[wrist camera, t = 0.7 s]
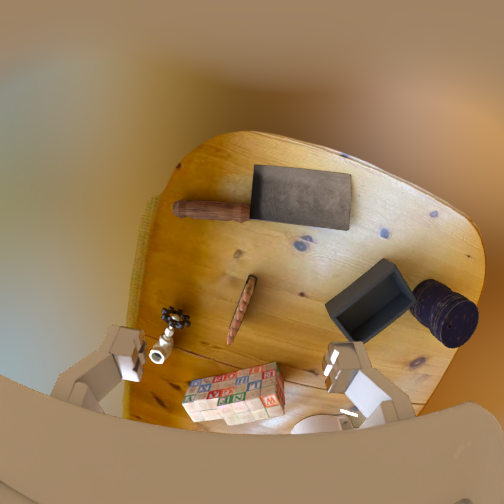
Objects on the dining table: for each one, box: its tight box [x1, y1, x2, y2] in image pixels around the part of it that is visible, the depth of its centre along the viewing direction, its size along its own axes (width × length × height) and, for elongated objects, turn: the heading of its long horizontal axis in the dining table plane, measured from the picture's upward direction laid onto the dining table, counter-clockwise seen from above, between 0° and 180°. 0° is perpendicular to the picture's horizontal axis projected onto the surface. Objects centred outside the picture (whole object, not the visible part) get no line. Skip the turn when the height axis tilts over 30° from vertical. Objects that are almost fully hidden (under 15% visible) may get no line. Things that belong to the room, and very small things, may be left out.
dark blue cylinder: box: [410, 279, 479, 348], centre depth 48 cm, size 10×10×15 cm
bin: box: [325, 258, 417, 344], centre depth 53 cm, size 10×16×7 cm, turn 130°
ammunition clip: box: [227, 275, 258, 345], centre depth 53 cm, size 11×2×12 cm, turn 160°
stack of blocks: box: [182, 362, 285, 426], centre depth 56 cm, size 21×6×12 cm, turn 110°
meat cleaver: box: [173, 165, 351, 231], centre depth 52 cm, size 34×11×4 cm, turn 86°
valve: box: [149, 306, 191, 364], centre depth 58 cm, size 7×7×12 cm
